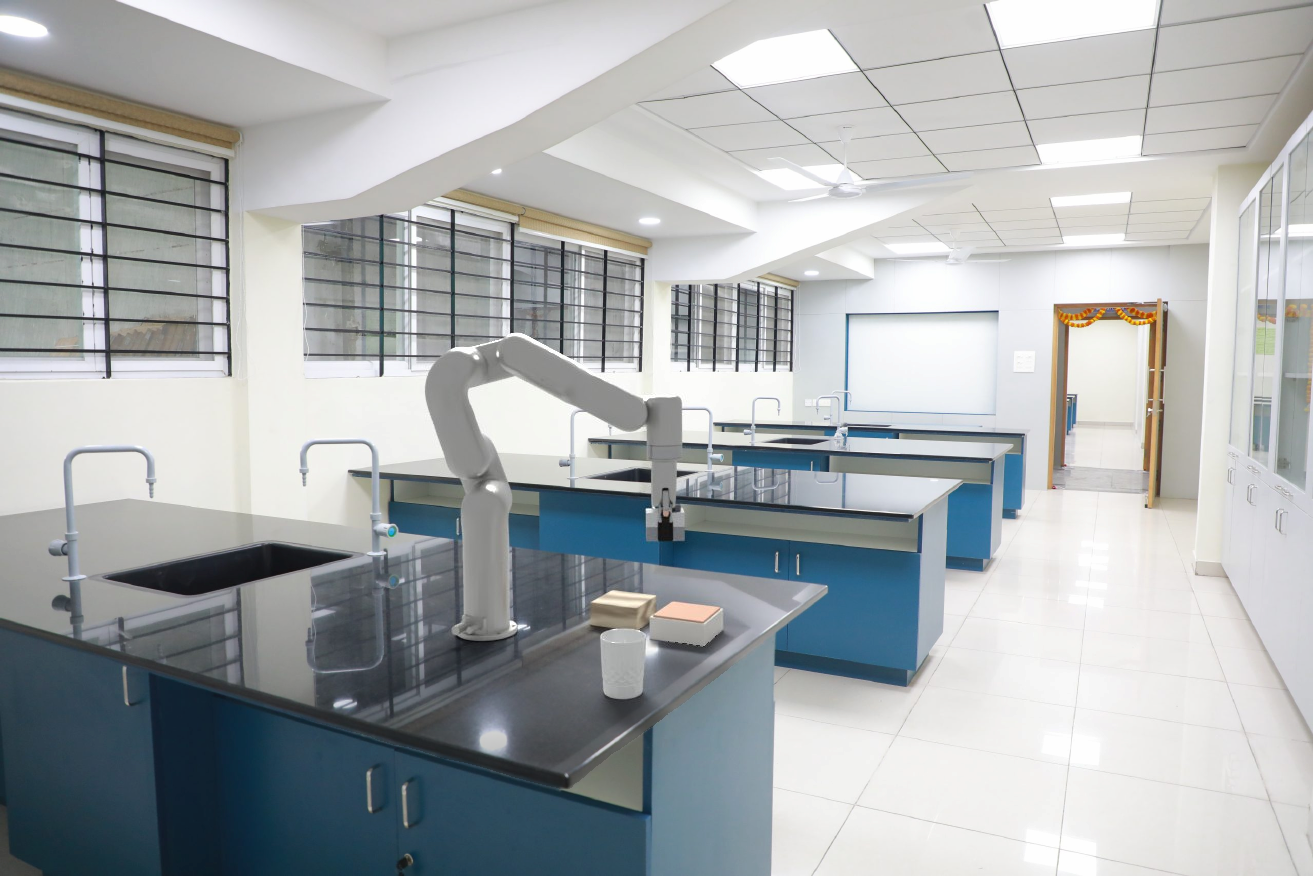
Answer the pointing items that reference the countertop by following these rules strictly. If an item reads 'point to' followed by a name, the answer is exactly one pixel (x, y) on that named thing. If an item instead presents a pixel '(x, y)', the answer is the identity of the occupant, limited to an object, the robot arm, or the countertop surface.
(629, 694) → the white cup
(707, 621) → the stand
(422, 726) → the countertop surface
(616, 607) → the stand
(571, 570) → the countertop surface
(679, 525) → the housing
